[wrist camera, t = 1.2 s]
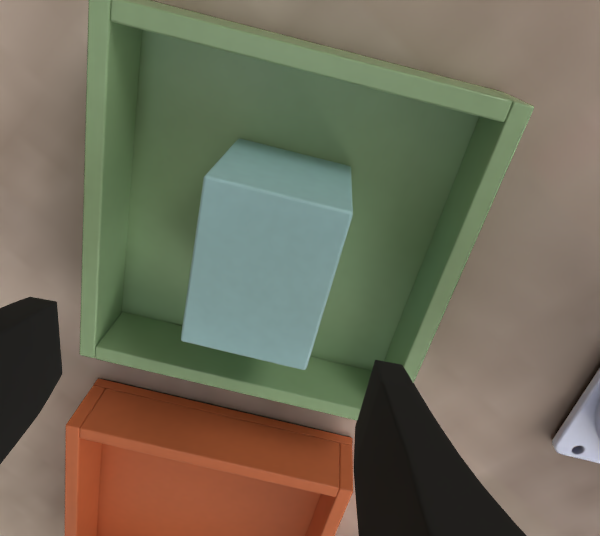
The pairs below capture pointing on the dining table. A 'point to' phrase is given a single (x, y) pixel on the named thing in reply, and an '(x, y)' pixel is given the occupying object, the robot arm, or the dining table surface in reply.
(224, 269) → the light blue box
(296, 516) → the terracotta tote
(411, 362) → the sage tote
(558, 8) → the dining table surface
